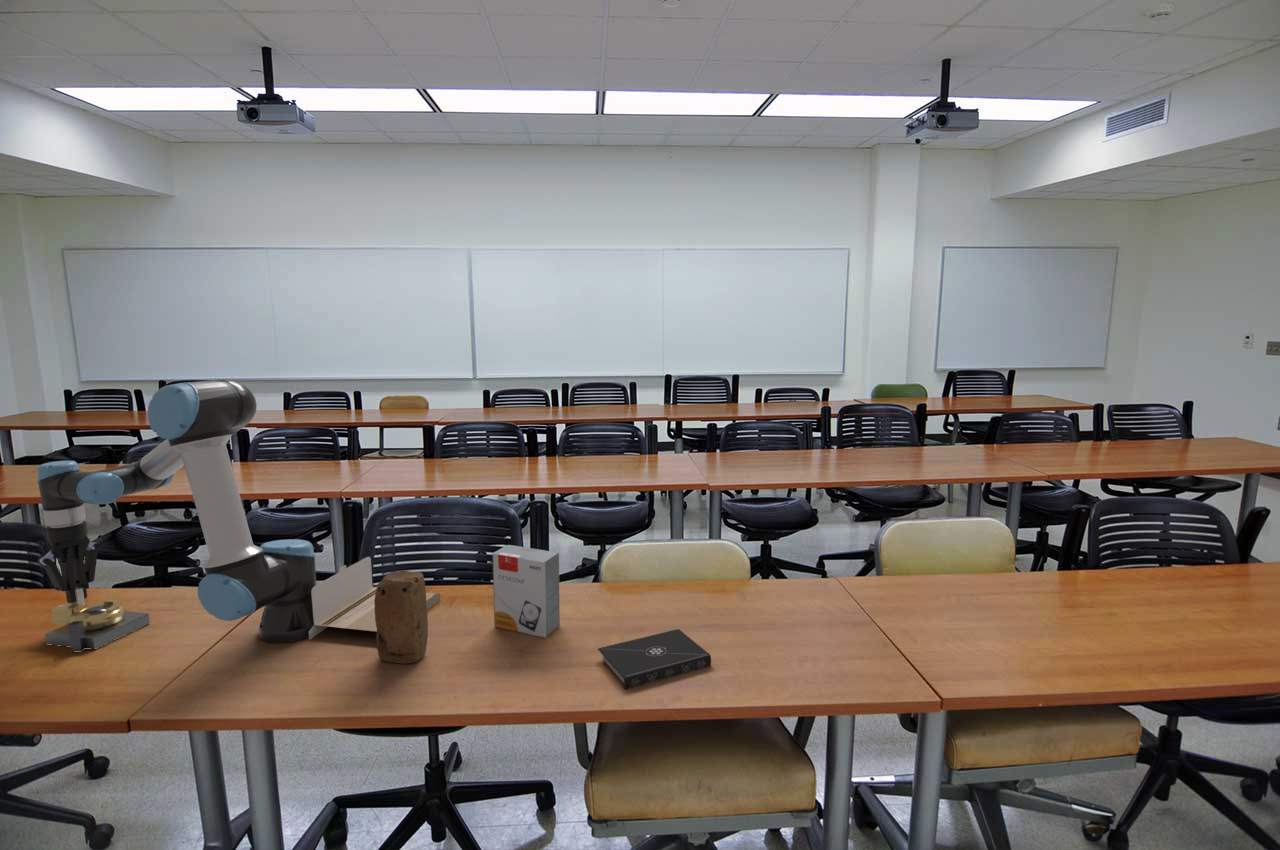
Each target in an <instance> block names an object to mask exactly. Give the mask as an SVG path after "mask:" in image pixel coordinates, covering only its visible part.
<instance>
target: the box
mask: <svg viewBox="0 0 1280 850" xmlns="http://www.w3.org/2000/svg"><path fill="white" fill-rule="evenodd" d="M371 561H372V558H371V556H367V557H364V558H362V559H360V560H359V561H357V562H356V563H353V564H352V565H350V566H348V567H347V565H346V564H345V565H342V566H341V567H339V569H338V572H337V573H335V574H333V575H332V576H330V577H329V578H327V579H324V580H323V581H320V582H319V583H316V586H314V587H313V588H312V590H311V594H312V607H313V620H314V626H313V627H312V629H311V630H310V631H309V637H308V639H309V641H310V640H312V639H313V638H314V637H315V636H317V635H319V634H320V633H321V632H322V631H324V630H326V629H327V628H329V627H330V628H337V629H339V628H340V629H348V630H349V629H350V630H356V631H357V630H359V631H369V632H376V633H377V627H376V621H375V605H374V599H375V592H376V589H377V586H376V587H373V572H372V571H373V570H372V562H371ZM440 601H441V593H440V592H426V602H427V611H428V610H430V609H431V608H433V606H435V605H436V604H437V603H438V602H440Z"/></svg>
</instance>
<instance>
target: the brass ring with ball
mask: <svg viewBox="0 0 1280 850" xmlns="http://www.w3.org/2000/svg"><path fill="white" fill-rule="evenodd" d="M124 611H125V610H124V605H123V603H121V602H119V601H118V599H110V598H109V599H107V600H105V601H103V602H101V603H96V604H91V605H87V604H85V605H82V604H71V603H62V604H59V605H57V606H55V607H53V608H51V616H52V623H53V625H67V624H70V623H72V622H73V621H83V624H84V631H90V630H96V629H100V628H104V627H107V626H110V625H113V624H115V623H117V622H119V621H121V620H122V619H123V618H124Z"/></svg>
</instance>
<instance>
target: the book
mask: <svg viewBox="0 0 1280 850" xmlns="http://www.w3.org/2000/svg"><path fill="white" fill-rule="evenodd" d="M597 651H599V652H600V653H601V655H602V659H603V661H604V663H606V664H607V666H608V667H609V668H610V669H611V670H612V672H613V673H614V674H616V676H617V677H618V678H619V680H621V682H622V683H623V685H624V687H623V688H624V690H629V689H633V688H636V687H640V686H643V684H644V685H646V683H647V684H650V682H651V683H654V682H658V681H662V680H665V679H667V678H668V677H669V678H671V677H675V676H679V675H683V674H686V673H685V672H687V673H689V671H690V672H694V671H697V670H700V669H699V668H701V669H704V668H703V667H705V668H707V666H708V667H711V665H712V657H711V654H710V653H709V652H708V651H707V650H705V649H704V648H703V647H701V646H700V645H699V644H697V642H696V641H694V640H693V639H692V638H691V637H689V636H688V635H687V634H686V633H684V632H683V631H682V630H681V629H679V628H676V629H673V630H669V631H665V632H660V633H656V634H651V635H647V636H644V637H639V638H635V639H631V640H626V641H624V642H619V643H615V644H610V645H605V646H602V647H599V648H597ZM693 670H694V671H693ZM682 673H683V674H682ZM664 678H665V679H664ZM669 678H668V679H669ZM661 679H662V680H661ZM657 680H658V681H657ZM653 681H654V682H653ZM639 685H640V686H639Z"/></svg>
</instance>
